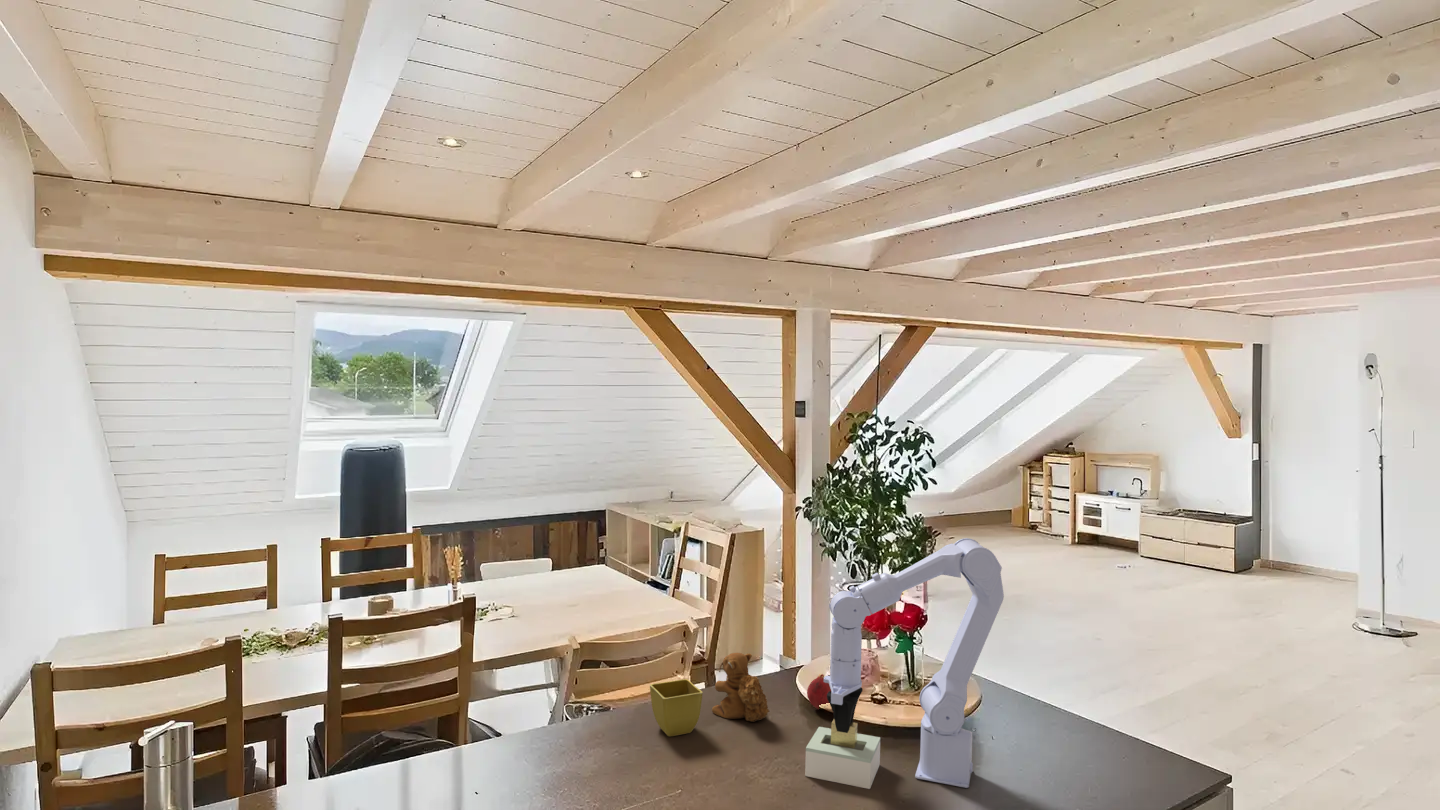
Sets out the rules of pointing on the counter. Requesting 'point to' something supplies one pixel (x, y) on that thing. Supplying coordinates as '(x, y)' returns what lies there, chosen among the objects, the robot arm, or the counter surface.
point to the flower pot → (676, 706)
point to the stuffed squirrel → (740, 691)
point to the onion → (818, 691)
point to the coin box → (843, 759)
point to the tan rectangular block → (844, 736)
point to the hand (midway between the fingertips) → (844, 728)
